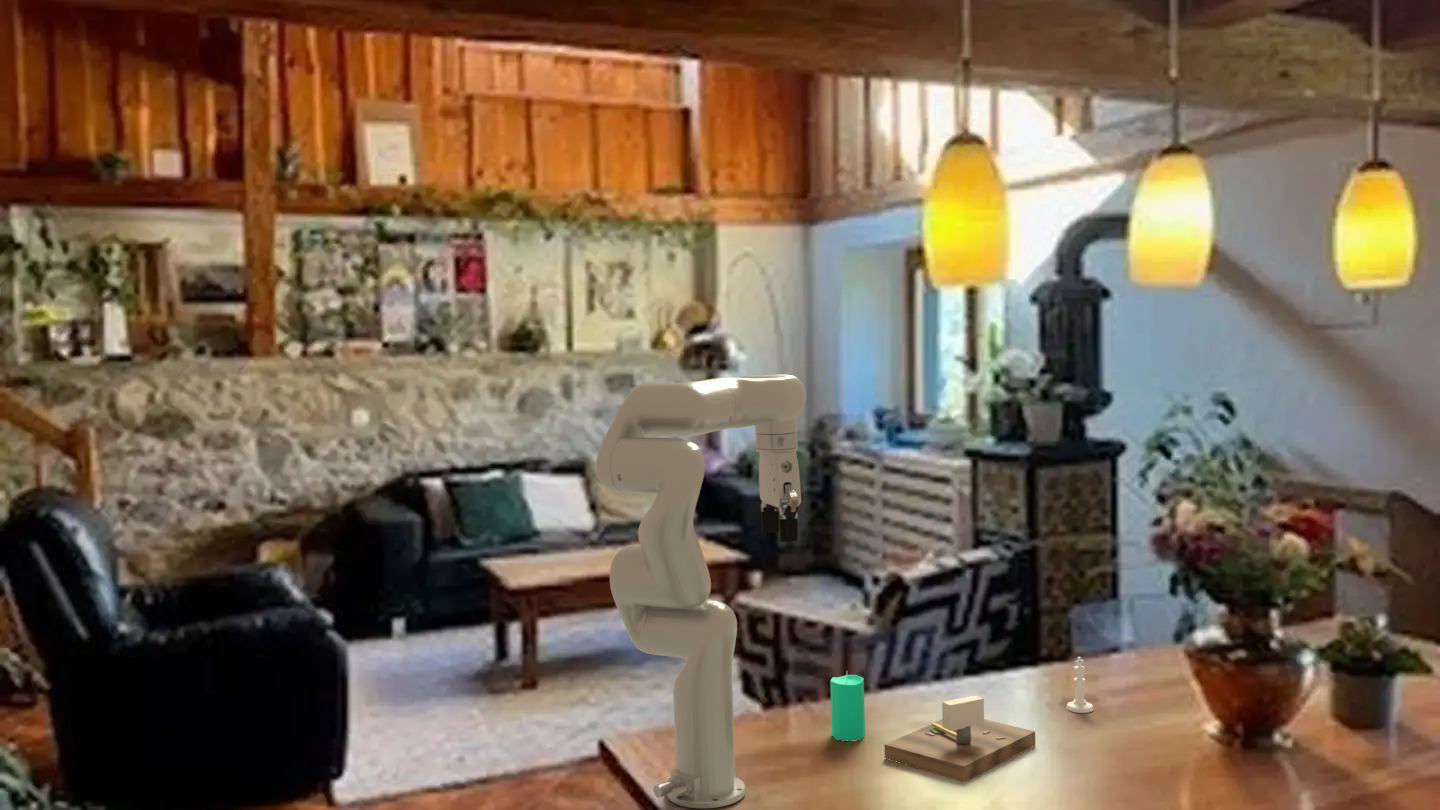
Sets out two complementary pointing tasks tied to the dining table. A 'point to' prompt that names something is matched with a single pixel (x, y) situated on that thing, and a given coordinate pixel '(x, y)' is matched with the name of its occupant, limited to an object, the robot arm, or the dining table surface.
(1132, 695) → the dining table surface
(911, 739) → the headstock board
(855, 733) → the candle
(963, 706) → the wooden toy mallet
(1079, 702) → the chess piece
